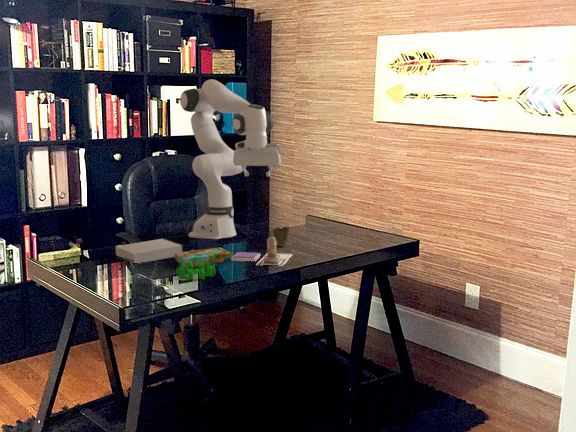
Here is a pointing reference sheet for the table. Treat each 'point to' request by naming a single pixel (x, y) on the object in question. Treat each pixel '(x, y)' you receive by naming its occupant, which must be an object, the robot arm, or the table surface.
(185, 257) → the multicoloured oblong shape
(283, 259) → the form
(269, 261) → the stamp
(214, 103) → the robot arm
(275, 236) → the cup
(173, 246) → the disc drive
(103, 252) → the table surface
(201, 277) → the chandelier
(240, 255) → the ink pad
